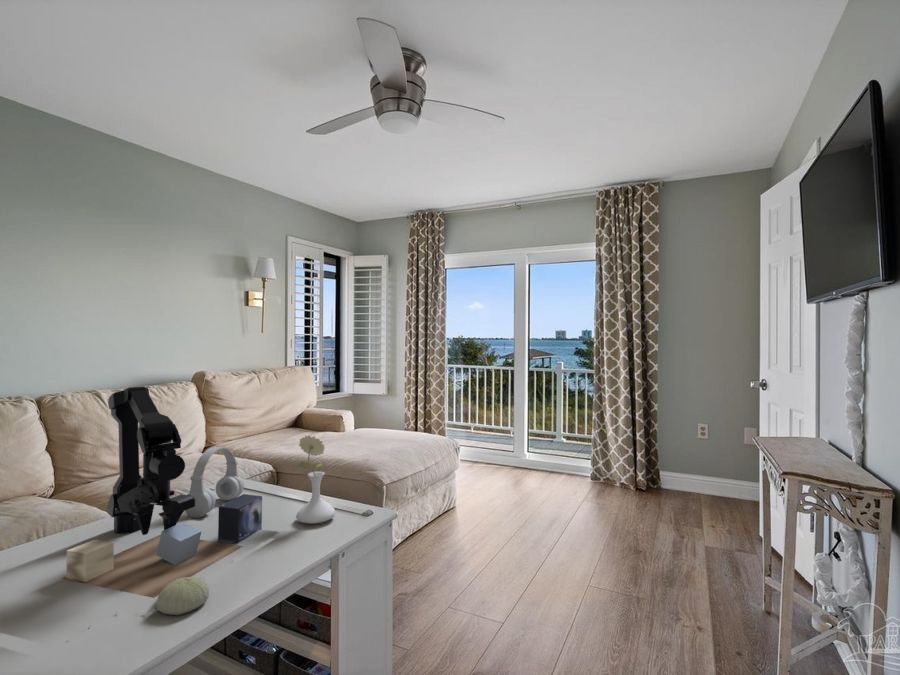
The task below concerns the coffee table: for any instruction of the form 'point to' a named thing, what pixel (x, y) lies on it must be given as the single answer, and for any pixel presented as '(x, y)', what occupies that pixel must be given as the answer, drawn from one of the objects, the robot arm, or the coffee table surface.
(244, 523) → the small box
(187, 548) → the slate cube
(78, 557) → the birch cube
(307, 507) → the flower in vase
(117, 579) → the walnut board
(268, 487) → the coffee table surface
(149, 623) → the coffee table surface
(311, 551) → the coffee table surface
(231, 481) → the headphones
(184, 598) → the sea urchin shell
